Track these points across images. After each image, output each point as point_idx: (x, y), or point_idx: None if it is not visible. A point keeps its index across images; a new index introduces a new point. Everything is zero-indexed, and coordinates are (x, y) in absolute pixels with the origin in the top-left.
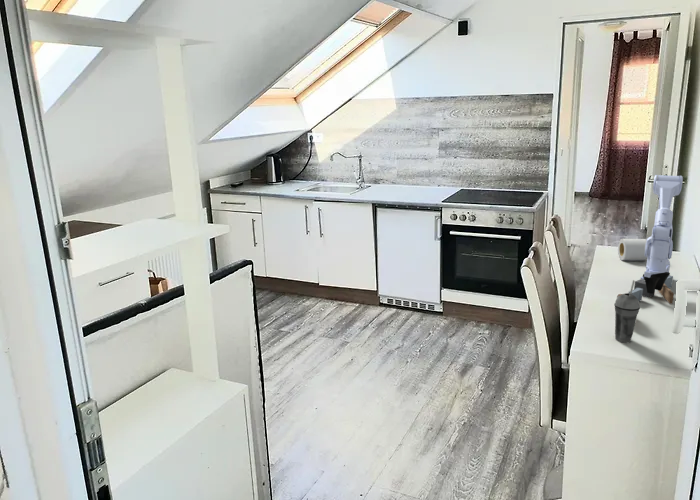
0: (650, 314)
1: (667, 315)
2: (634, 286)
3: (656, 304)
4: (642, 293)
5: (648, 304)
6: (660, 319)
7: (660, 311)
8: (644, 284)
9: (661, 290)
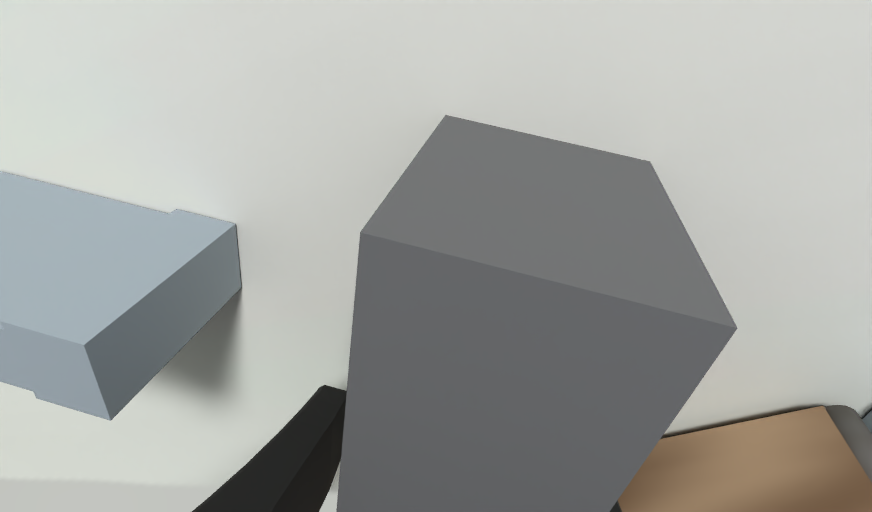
0: (6, 396)
1: (112, 479)
2: (405, 171)
3: (257, 415)
4: (174, 355)
5: (189, 360)
6: (6, 449)
7: (133, 445)
8: (347, 432)
9: (640, 497)
